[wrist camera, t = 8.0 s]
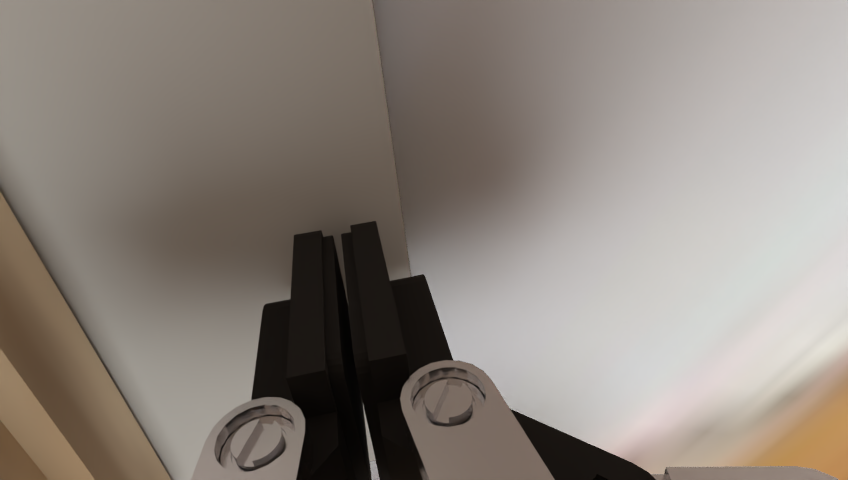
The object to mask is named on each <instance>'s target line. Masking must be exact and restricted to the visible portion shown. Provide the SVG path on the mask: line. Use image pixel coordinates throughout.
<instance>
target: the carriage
mask: <svg viewBox="0 0 848 480" xmlns="http://www.w3.org/2000/svg"><path fill="white" fill-rule="evenodd" d="M0 480H171V479H170V477H169V475H168V474H167V472H166V470H165V468H164V467H163V465H162V463H161V462H160V460H159V458H158V457H157V455H156V453H155V452H154V450H153V448H152V447H151V445H150V443H149V441H148V440H147V438H146V436H145V435H144V433H143V431H142V430H141V428H140V426H139V425H138V423H137V421H136V420H135V418H134V416H133V415H132V413H131V411H130V409H129V408H128V406H127V404H126V403H125V401H124V399H123V398H122V396H121V394H120V393H119V391H118V389H117V388H116V386H115V384H114V382H113V381H112V379H111V377H110V376H109V374H108V372H107V371H106V369H105V367H104V366H103V364H102V362H101V361H100V359H99V357H98V356H97V354H96V352H95V350H94V349H93V347H92V345H91V344H90V342H89V340H88V339H87V337H86V335H85V334H84V332H83V330H82V329H81V327H80V325H79V323H78V322H77V320H76V318H75V317H74V315H73V313H72V312H71V310H70V308H69V307H68V305H67V303H66V302H65V300H64V298H63V297H62V295H61V293H60V291H59V290H58V288H57V286H56V285H55V283H54V281H53V280H52V278H51V276H50V275H49V273H48V271H47V270H46V268H45V266H44V264H43V263H42V261H41V259H40V258H39V256H38V254H37V253H36V251H35V249H34V248H33V246H32V244H31V243H30V241H29V239H28V238H27V236H26V234H25V232H24V231H23V229H22V227H21V226H20V224H19V222H18V221H17V219H16V217H15V216H14V214H13V212H12V211H11V209H10V207H9V205H8V204H7V202H6V200H5V199H4V197H3V195H2V194H1V192H0Z"/></svg>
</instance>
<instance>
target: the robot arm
mask: <svg viewBox="0 0 848 480" xmlns="http://www.w3.org/2000/svg"><path fill="white" fill-rule="evenodd" d="M350 228H351V232H349V233H343V234H341V240H342V250H343V259H344V269H345V279H346V288H347V298H348V302H347V298H346V293H345V288H344V284H343V279H342V274H341V270H340V265H339V260H338V256H337V251H336V246H335V242H334V238H333V235H331V236H325V237H323V234H322V231H321V230H319V231H314V232H308V233H302V234H296V235H294V242H293V260H292V279H291V297H290V299H289V300H283V301H278V302H273V303H267V304H265V305H264V306H263V311H262V318H261V326H260V334H259V342H258V350H257V358H256V366H255V374H254V381H253V389H252V397H251V401H248V402H246V403H244V404H242V405H239V406H237V407H236V408H234V409H233V410H231V411H230V412H229V413H227V414H226V415H224V416H223V417H222V418H221V419H220V420H219V421H218V423H217V424H216V425H215V426H214V427H213V428H212V430H211V432H210V434H209V435H208V437H207V439H206V441H205V443H204V446H203V449H202V451H201V454H200V457H199V459H198V462H197V465H196V467H195V470H194V472H193V475H192V478H191V480H372V479H371V470H370V462H369V453H368V444H367V435H366V426H365V417H364V410H365V414H366V419H367V423H368V428H369V432H370V437H371V441H372V446H373V450H374V455H375V459H376V464H377V468H378V473H379V477H380V480H838V479H837V478H835V477H833V476H830V475H828V474H825V473H823V472H820V471H818V470H816V469H810V468H803V467H797V466H770V467H666V470H665V474H650V473H649V472H647V471H645V470H643V469H642V468H640V467H638V466H637V465H635V464H633V463H631V462H629V461H627V460H624V459H622V458H620V457H618V456H615V455H613V454H611V453H609V452H606V451H604V450H602V449H600V448H597V447H595V446H593V445H590V444H588V443H586V442H584V441H581V440H579V439H577V438H575V437H572V436H570V435H568V434H566V433H563V432H561V431H559V430H557V429H554V428H552V427H550V426H547V425H545V424H543V423H541V422H538V421H536V420H534V419H532V418H529V417H527V416H525V415H523V414H520V413H518V412H516V411H513V410H511V409H510V408H509V407H508V405H507V403H506V402H505V400H504V399H503V397H502V396H501V394H500V392H499V391H498V389H497V388H496V386H495V384H494V383H493V381H492V380H491V379H490V378H489V376H488V375H487V374H486V373H485V372H484V371H483V370H481V369H479V368H478V367H476V366H474V365H473V364H469V363H466V362H462V361H454V360H453V358H452V355H451V352H450V349H449V346H448V343H447V340H446V337H445V334H444V332H443V329H442V326H441V323H440V320H439V317H438V314H437V311H436V308H435V305H434V302H433V299H432V296H431V293H430V290H429V287H428V284H427V281H426V278H425V276H424V275H418V276H413V277H407V278H402V279H397V280H391V281H390V279H389V275H388V271H387V266H386V262H385V258H384V253H383V249H382V245H381V240H380V236H379V232H378V227H377V223H376V221H372V222H366V223H360V224H354V225H350ZM363 405H364V408H363Z"/></svg>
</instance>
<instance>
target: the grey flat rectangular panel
mask: <svg viewBox="0 0 848 480" xmlns="http://www.w3.org/2000/svg"><path fill="white" fill-rule="evenodd" d="M0 192H1V194H2V195H3V197H4V199H5V200H6V202H7V204H8V205H9V207H10V209H11V211H12V212H13V214H14V216H15V217H16V219H17V221H18V222H19V224H20V226H21V227H22V229H23V231H24V232H25V234H26V236H27V238H28V239H29V241H30V243H31V244H32V246H33V248H34V249H35V251H36V253H37V254H38V256H39V258H40V259H41V261H42V263H43V264H44V266H45V268H46V270H47V271H48V273H49V275H50V276H51V278H52V280H53V281H54V283H55V285H56V286H57V288H58V290H59V291H60V293H61V295H62V297H63V298H64V300H65V302H66V303H67V305H68V307H69V308H70V310H71V312H72V313H73V315H74V317H75V318H76V320H77V322H78V323H79V325H80V327H81V329H82V330H83V332H84V334H85V335H86V337H87V339H88V340H89V342H90V344H91V345H92V347H93V349H94V350H95V352H96V354H97V356H98V357H99V359H100V361H101V362H102V364H103V366H104V367H105V369H106V371H107V372H108V374H109V376H110V377H111V379H112V381H113V382H114V384H115V386H116V388H117V389H118V391H119V393H120V394H121V396H122V398H123V399H124V401H125V403H126V404H127V406H128V408H129V409H130V411H131V413H132V415H133V416H134V418H135V420H136V421H137V423H138V425H139V426H140V428H141V430H142V431H143V433H144V435H145V436H146V438H147V440H148V441H149V443H150V445H151V447H152V448H153V450H154V452H155V453H156V455H157V457H158V458H159V460H160V462H161V463H162V465H163V467H164V468H165V470H166V472H167V474H168V475H169V477H170V479H171V480H191V478H192V475H193V472H194V470H195V467H196V465H197V462H198V459H199V457H200V454H201V451H202V449H203V446H204V443H205V441H206V439H207V437H208V435H209V434H210V432H211V430H212V428H213V427H214V426H215V425H216V424H217V423H218V421H219V420H220V419H221V418H222V417H223V416H224V415H226V414H227V413H229V412H230V411H231V410H233V409H234V408H236V407H237V406H239V405H242V404H244V403H246V402H248V401H251V397H252V389H253V381H254V374H255V366H256V358H257V350H258V342H259V334H260V326H261V318H262V311H263V306H264V305H265V304H267V303H273V302H278V301H283V300H289V299H290V297H291V279H292V260H293V242H294V235H296V234H302V233H308V232H314V231H319V230H321V231H322V234H323V237H325V236H331V235H333V238H334V242H335V246H336V251H337V256H338V260H339V265H340V270H341V274H342V279H343V284H344V288H345V293H346V298H347V288H346V279H345V269H344V259H343V250H342V240H341V234H343V233H349V232H351V228H350V225H354V224H360V223H366V222H372V221H376V223H377V227H378V232H379V236H380V240H381V245H382V249H383V253H384V258H385V262H386V266H387V271H388V275H389V279H390V281H391V280H397V279H402V278H407V277H411V273H410V266H409V259H408V252H407V244H406V237H405V230H404V223H403V216H402V209H401V202H400V194H399V187H398V180H397V173H396V166H395V159H394V152H393V145H392V137H391V130H390V123H389V116H388V109H387V102H386V95H385V87H384V80H383V73H382V66H381V59H380V52H379V45H378V37H377V30H376V23H375V16H374V9H373V2H372V0H0ZM347 302H348V298H347ZM363 408H364V405H363ZM364 417H365V426H366V435H367V444H368V453H369V462H370V461H375V460H376V459H375V455H374V450H373V446H372V441H371V437H370V432H369V428H368V423H367V419H366V414H365V410H364Z"/></svg>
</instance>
